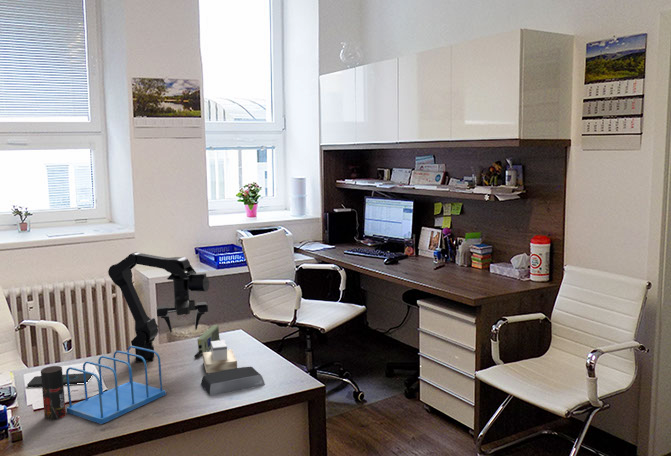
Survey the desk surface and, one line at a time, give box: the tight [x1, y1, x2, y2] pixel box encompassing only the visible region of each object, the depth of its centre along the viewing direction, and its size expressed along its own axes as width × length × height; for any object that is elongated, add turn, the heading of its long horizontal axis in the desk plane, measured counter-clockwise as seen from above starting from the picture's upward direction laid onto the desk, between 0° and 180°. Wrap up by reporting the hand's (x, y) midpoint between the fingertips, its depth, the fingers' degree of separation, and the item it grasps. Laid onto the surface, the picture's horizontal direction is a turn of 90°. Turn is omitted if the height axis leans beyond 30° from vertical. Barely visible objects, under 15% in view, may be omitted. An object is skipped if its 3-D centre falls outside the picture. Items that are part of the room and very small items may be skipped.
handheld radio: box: [193, 324, 220, 359], centre depth 251 cm, size 7×3×25 cm
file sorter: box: [65, 345, 167, 425], centre depth 197 cm, size 25×17×15 cm
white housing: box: [210, 339, 228, 361], centre depth 228 cm, size 5×8×5 cm, turn 17°
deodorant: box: [40, 365, 67, 421], centre depth 189 cm, size 6×6×15 cm
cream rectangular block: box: [202, 348, 238, 374], centre depth 229 cm, size 11×14×4 cm
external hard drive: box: [200, 366, 266, 396], centre depth 212 cm, size 13×19×4 cm
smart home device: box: [26, 372, 93, 388], centre depth 218 cm, size 8×2×20 cm
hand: (183, 330), depth 235 cm, fingers open, 9 cm apart
